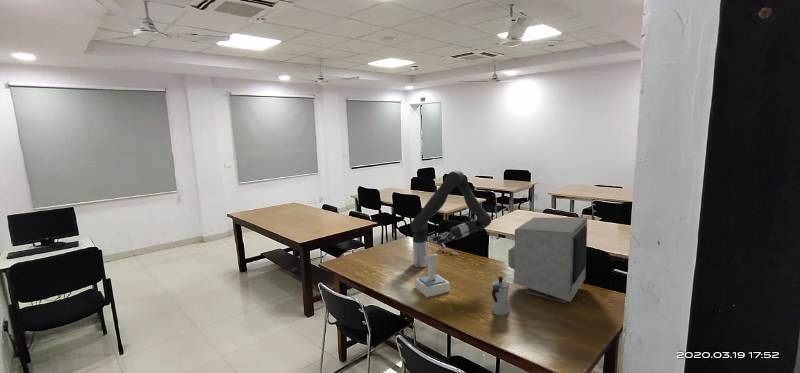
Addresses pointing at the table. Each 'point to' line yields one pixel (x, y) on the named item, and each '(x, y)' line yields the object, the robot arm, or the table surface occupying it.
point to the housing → (432, 288)
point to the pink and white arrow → (447, 249)
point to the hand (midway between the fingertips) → (435, 241)
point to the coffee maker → (500, 297)
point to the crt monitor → (550, 257)
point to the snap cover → (431, 272)
